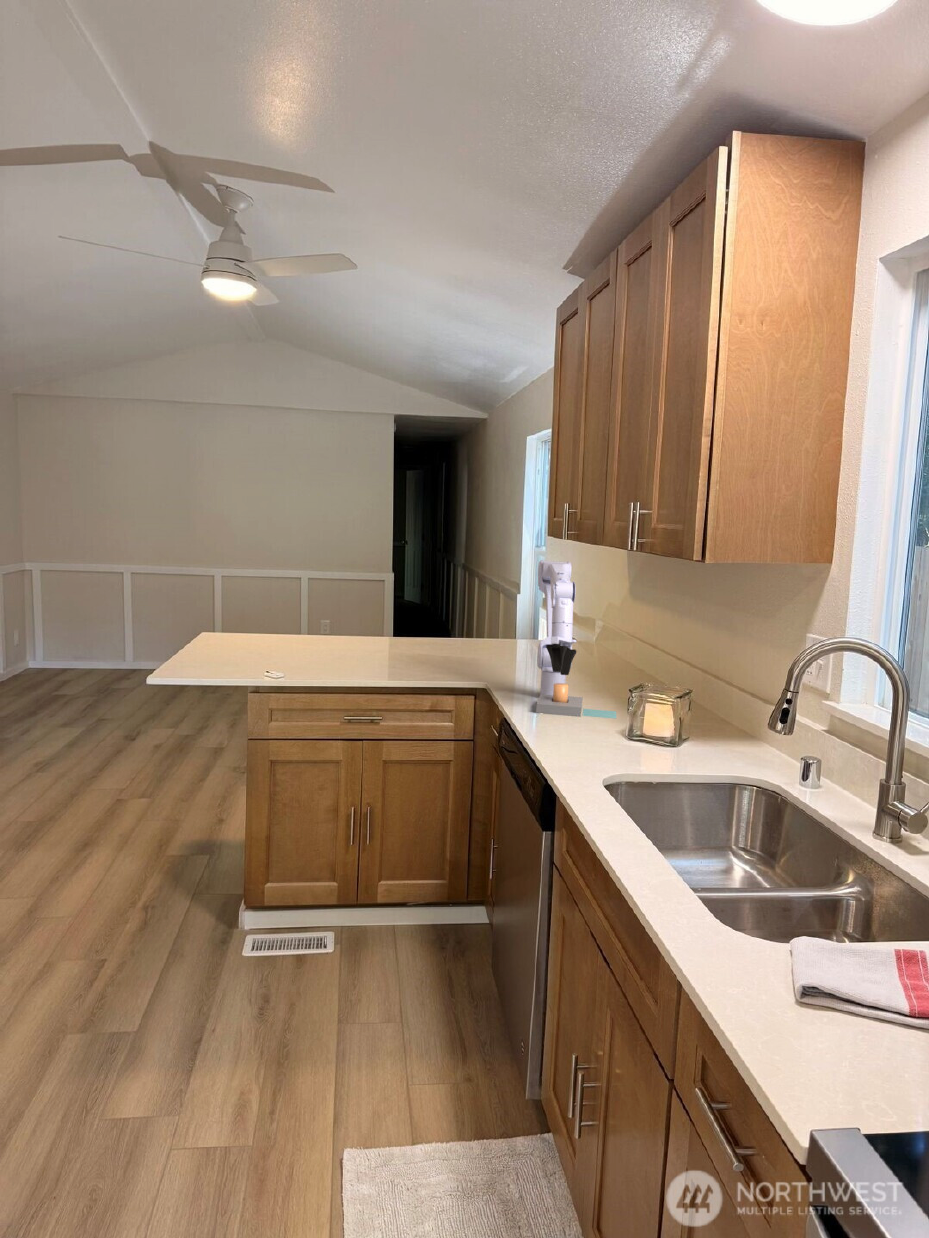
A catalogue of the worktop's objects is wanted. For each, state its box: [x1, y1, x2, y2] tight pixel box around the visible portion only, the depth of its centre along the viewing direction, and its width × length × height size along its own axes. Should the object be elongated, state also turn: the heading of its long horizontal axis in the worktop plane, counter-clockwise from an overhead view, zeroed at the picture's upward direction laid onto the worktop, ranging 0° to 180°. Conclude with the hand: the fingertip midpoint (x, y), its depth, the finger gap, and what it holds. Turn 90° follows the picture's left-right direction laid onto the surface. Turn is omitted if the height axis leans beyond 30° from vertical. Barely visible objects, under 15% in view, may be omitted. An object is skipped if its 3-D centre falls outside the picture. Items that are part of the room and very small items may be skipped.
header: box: [535, 693, 583, 718], centre depth 236 cm, size 14×12×3 cm
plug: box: [553, 683, 569, 703], centre depth 235 cm, size 4×4×7 cm
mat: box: [582, 708, 617, 719], centre depth 233 cm, size 9×9×1 cm
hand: (560, 673), depth 233 cm, fingers open, 7 cm apart
